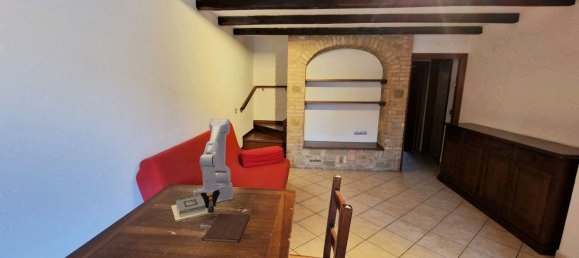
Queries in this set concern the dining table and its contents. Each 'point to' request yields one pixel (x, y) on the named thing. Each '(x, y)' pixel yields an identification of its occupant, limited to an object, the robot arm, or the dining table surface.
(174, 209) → the stand base
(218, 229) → the notebook
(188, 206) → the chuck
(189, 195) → the pliers
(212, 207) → the orange topped can
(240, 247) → the dining table surface
